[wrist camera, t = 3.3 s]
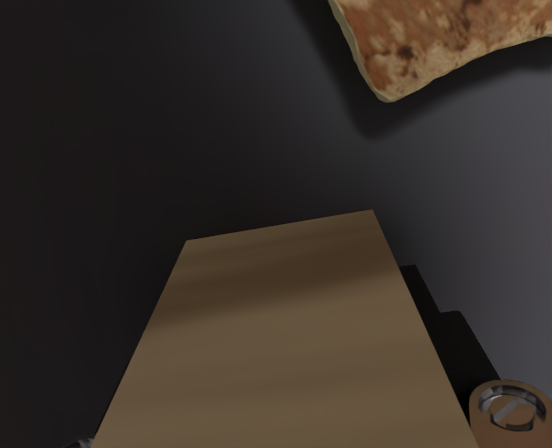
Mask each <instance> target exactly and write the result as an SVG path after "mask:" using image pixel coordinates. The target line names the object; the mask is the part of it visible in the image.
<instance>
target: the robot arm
mask: <svg viewBox="0 0 552 448" xmlns="http://www.w3.org/2000/svg"><path fill="white" fill-rule="evenodd" d="M398 268H399V270H400V272H401V274H402V277H403V279H404V281H405V283H406V286H407V288H408V290H409V292H410V295H411V297H412V299H413V301H414V303H415V306H416V308H417V310H418V312H419V315H420V317H421V319H422V321H423V324H424V326H425V328H426V330H427V333H428V335H429V337H430V339H431V341H432V344H433V346H434V348H435V350H436V353H437V355H438V357H439V359H440V362H441V364H442V366H443V368H444V371H445V373H446V375H447V377H448V380H449V382H450V384H451V386H452V388H453V391H454V393H455V395H456V397H457V400H458V402H459V404H460V406H461V409H462V411H463V413H464V415H465V418H466V420H467V422H468V424H469V427H470V429H471V431H472V433H473V435H474V438H475V440H476V442H477V444H478V447H479V448H552V401H551V400H550V399H549V398H548V397H547V396H546V395H545V394H544V393H543V392H541V391H540V390H538V389H536V388H535V387H533V386H531V385H528V384H525V383H523V382H520V381H514V380H507V379H505V380H501V379H500V377H499V376H498V374H497V372H496V371H495V369H494V367H493V365H492V364H491V362H490V360H489V359H488V357H487V355H486V354H485V352H484V350H483V349H482V347H481V345H480V344H479V342H478V340H477V338H476V337H475V335H474V333H473V332H472V330H471V328H470V327H469V325H468V323H467V322H466V320H465V318H464V317H463V315H462V314H461V312H460V311H458V310H457V311H450V312H444V313H440V312H439V310H438V308H437V306H436V304H435V302H434V300H433V298H432V296H431V294H430V292H429V290H428V288H427V287H426V285H425V283H424V281H423V279H422V277H421V275H420V273H419V271H418V269H417V267H416V266H415V265H408V266H402V267H398ZM130 361H131V360H130ZM130 361H129V363H130ZM129 363H128V364H127V366H126V368H125V371H124V373H123V375H122V377H121V379H120V381H119V383H118V385H117V388H116V390H115V392H114V394H113V396H112V398H111V400H110V403H109V405H108V407H107V409H106V411H105V413H104V415H103V417H102V420H101V422H100V424H99V426H98V428H97V430H96V432H95V433H87V434H83V435H79V436H77V437H75V438H72V439H70V440H68V441H67V442H65V443H64V444H62V445H60V446H59V447H58V448H90V447H91V445H92V443H93V441H94V438H95V436H96V434H97V432H98V430H99V428H100V426H101V423H102V421H103V419H104V417H105V415H106V413H107V410H108V408H109V406H110V404H111V402H112V400H113V398H114V395H115V393H116V391H117V389H118V387H119V385H120V382H121V380H122V378H123V376H124V374H125V372H126V370H127V367H128V365H129Z"/></svg>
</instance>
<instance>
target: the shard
mask: <svg viewBox="0 0 552 448" xmlns="http://www.w3.org/2000/svg"><path fill="white" fill-rule="evenodd" d="M328 2H329V4H330V6H331V9H332V12H333V15H334V17H335V19H336V21H337V22H338V23H339V24H340V27H341V29H342V32H343V34H344V36H345V38H346V40H347V42H348V44H349V46H350V49H351V52H352V55H353V60H354V61H355V63H356V64H357V65H358V69H359V72H360V73H361V75H362V76H363V78H364V79H365V81H366V83H367V84H368V86H369V87H370V89H371V90H372V91H373V92H374V93H375V94H376V96H377V98H378V99H379V100H381V101H383V102H395V101H397V100H399V99H401V98H403V97H405V96H407V95H409V94H411V93H413V92H415V91H417V90H419V89H421V88H422V87H424V86H426V85H427V84H429V83H430V82H431V81H432V80H433V79H435V78H438V77H441V76H444V75H446V74H447V73H449V72H450V71H452V70H454V69H457V68H459V67H461V66H463V65H465V64H466V63H468V62H470V61H472V60H474V59H477V58H479V57H481V56H483V55H486V54H488V53H490V52H492V51H495V50H498V49H502V48H507V47H510V46H514V45H517V44H520V43H523V42H526V41H533V40H535V39H538V38H540V37H545V36H549V37H552V0H328Z"/></svg>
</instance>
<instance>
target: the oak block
mask: <svg viewBox="0 0 552 448" xmlns="http://www.w3.org/2000/svg"><path fill="white" fill-rule="evenodd" d="M90 448H479V447H478V444H477V442H476V440H475V438H474V435H473V433H472V431H471V429H470V427H469V424H468V422H467V420H466V418H465V415H464V413H463V411H462V409H461V406H460V404H459V402H458V400H457V397H456V395H455V393H454V391H453V388H452V386H451V384H450V382H449V380H448V377H447V375H446V373H445V371H444V368H443V366H442V364H441V362H440V359H439V357H438V355H437V353H436V350H435V348H434V346H433V344H432V341H431V339H430V337H429V335H428V333H427V330H426V328H425V326H424V324H423V321H422V319H421V317H420V315H419V312H418V310H417V308H416V306H415V303H414V301H413V299H412V297H411V295H410V292H409V290H408V288H407V286H406V283H405V281H404V279H403V277H402V274H401V272H400V270H399V268H398V265H397V263H396V261H395V259H394V256H393V254H392V252H391V250H390V248H389V245H388V243H387V241H386V239H385V236H384V234H383V232H382V230H381V227H380V225H379V223H378V221H377V218H376V216H375V214H374V212H373V209H371V210H365V211H359V212H353V213H347V214H342V215H336V216H330V217H324V218H318V219H312V220H306V221H300V222H294V223H288V224H282V225H276V226H270V227H264V228H258V229H253V230H247V231H241V232H235V233H229V234H223V235H217V236H211V237H205V238H199V239H193V240H187V241H186V242H185V245H184V247H183V249H182V251H181V253H180V255H179V258H178V260H177V262H176V264H175V266H174V268H173V270H172V273H171V275H170V277H169V279H168V281H167V283H166V286H165V288H164V290H163V292H162V294H161V296H160V298H159V301H158V303H157V305H156V307H155V309H154V311H153V314H152V316H151V318H150V320H149V322H148V324H147V326H146V329H145V331H144V333H143V335H142V337H141V339H140V342H139V344H138V346H137V348H136V350H135V352H134V354H133V357H132V359H131V361H130V363H129V365H128V367H127V370H126V372H125V374H124V376H123V378H122V380H121V382H120V385H119V387H118V389H117V391H116V393H115V395H114V398H113V400H112V402H111V404H110V406H109V408H108V410H107V413H106V415H105V417H104V419H103V421H102V423H101V426H100V428H99V430H98V432H97V434H96V436H95V438H94V441H93V443H92V445H91V447H90Z"/></svg>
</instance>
